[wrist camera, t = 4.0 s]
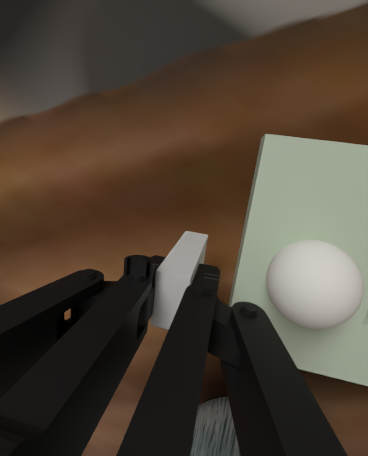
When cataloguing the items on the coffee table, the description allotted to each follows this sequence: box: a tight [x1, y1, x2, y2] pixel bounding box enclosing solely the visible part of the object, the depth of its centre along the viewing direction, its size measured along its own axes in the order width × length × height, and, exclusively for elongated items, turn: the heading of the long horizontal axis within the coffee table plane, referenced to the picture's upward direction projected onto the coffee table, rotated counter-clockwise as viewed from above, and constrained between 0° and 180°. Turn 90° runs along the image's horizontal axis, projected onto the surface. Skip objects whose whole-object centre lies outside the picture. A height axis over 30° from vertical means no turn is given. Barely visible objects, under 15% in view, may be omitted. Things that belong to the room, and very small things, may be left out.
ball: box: [266, 240, 364, 329], centre depth 15 cm, size 5×5×5 cm
